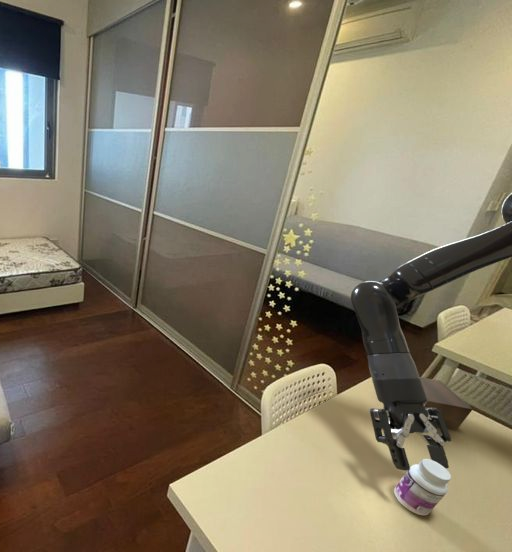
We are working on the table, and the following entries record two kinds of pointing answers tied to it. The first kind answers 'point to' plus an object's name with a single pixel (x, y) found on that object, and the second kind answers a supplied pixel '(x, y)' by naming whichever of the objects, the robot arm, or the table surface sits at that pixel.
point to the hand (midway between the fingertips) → (422, 468)
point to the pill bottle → (423, 486)
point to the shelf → (445, 402)
